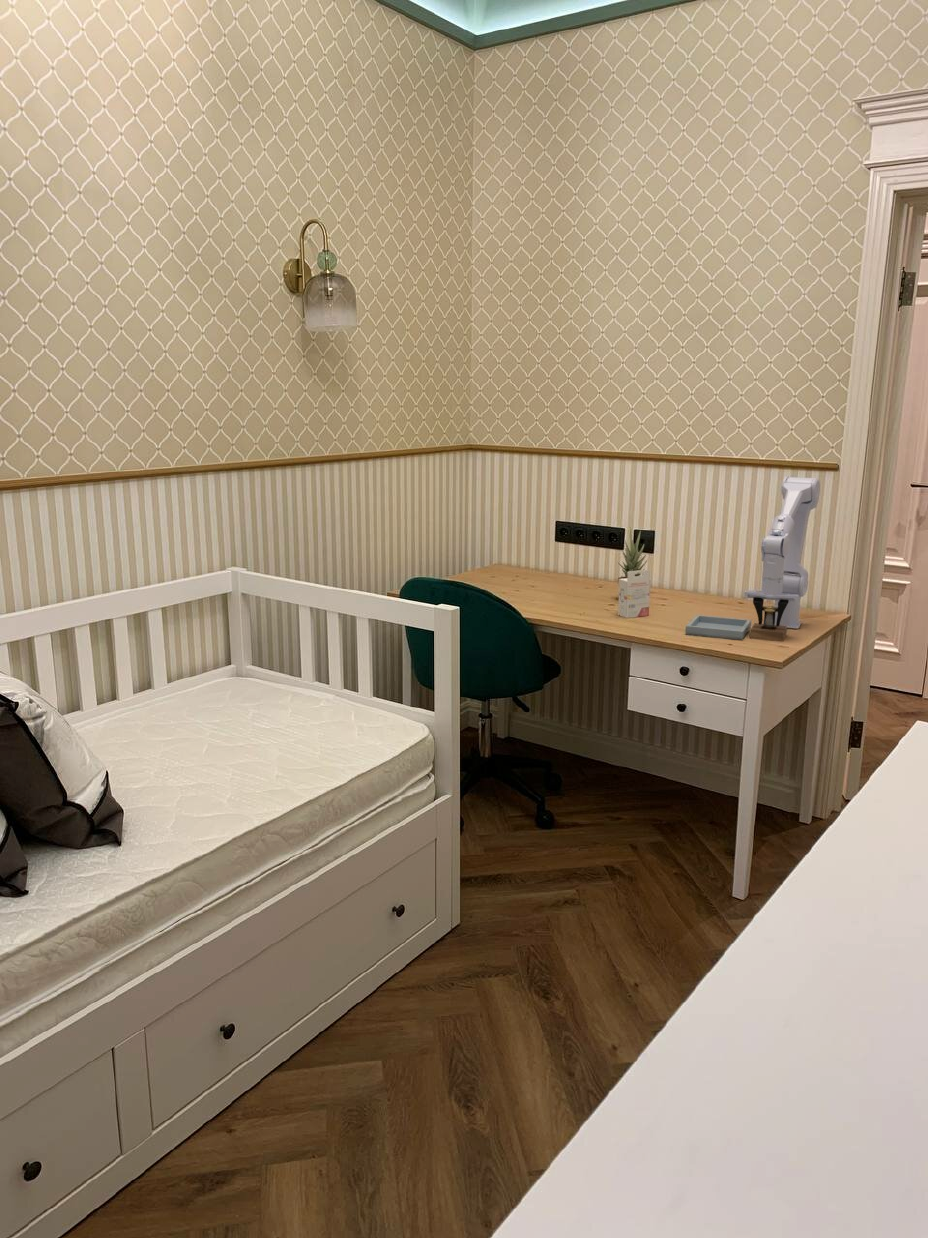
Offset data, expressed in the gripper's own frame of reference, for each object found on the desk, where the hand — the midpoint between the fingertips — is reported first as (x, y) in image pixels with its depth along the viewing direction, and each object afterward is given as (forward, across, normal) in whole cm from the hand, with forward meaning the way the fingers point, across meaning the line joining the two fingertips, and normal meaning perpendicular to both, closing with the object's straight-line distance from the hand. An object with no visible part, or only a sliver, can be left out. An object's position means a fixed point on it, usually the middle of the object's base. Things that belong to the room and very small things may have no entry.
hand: (769, 624), depth 277 cm
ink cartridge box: (+4, -42, +10) cm, 43 cm away
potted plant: (+4, -49, +33) cm, 59 cm away
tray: (+3, -14, 0) cm, 14 cm away
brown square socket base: (+3, 0, 0) cm, 3 cm away
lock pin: (+3, 0, 0) cm, 3 cm away
